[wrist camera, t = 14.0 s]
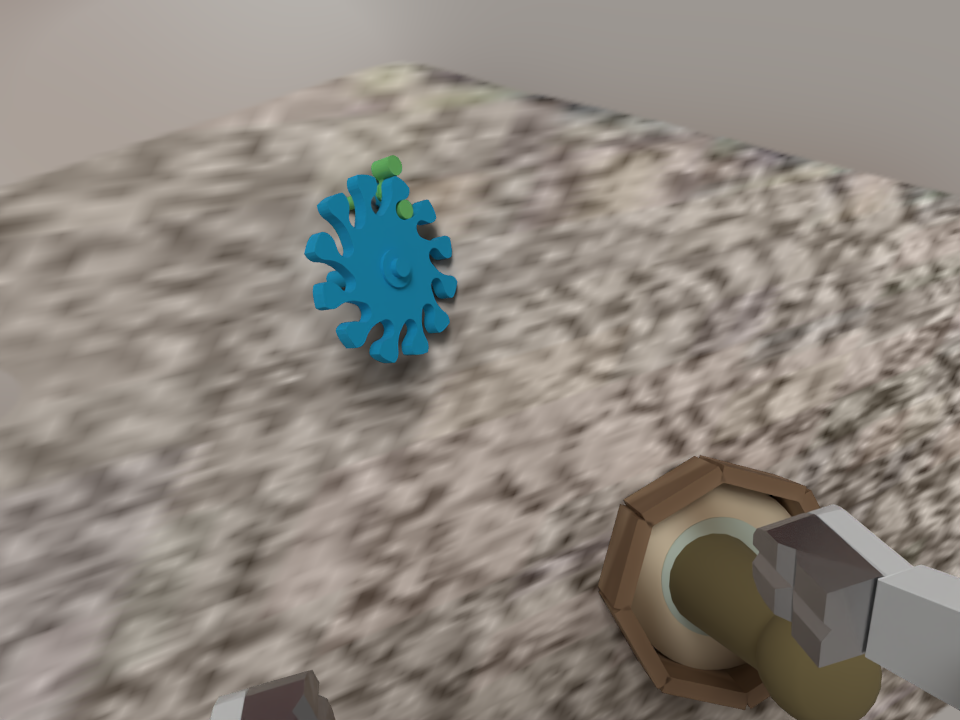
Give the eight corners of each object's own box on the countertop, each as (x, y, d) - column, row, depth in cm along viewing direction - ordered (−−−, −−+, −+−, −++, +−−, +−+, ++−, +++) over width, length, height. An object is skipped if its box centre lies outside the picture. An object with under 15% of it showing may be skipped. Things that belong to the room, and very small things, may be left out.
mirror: (669, 715, 37) (691, 747, 34) (566, 534, 36) (579, 552, 33) (845, 601, 38) (881, 623, 35) (749, 422, 37) (778, 429, 34)
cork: (654, 557, 35) (759, 655, 24) (740, 517, 36) (881, 596, 25) (689, 643, 36) (807, 778, 25) (773, 603, 36) (926, 717, 25)
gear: (459, 371, 33) (314, 348, 26) (390, 372, 37) (245, 353, 29) (469, 189, 35) (334, 115, 27) (401, 208, 38) (265, 147, 30)
